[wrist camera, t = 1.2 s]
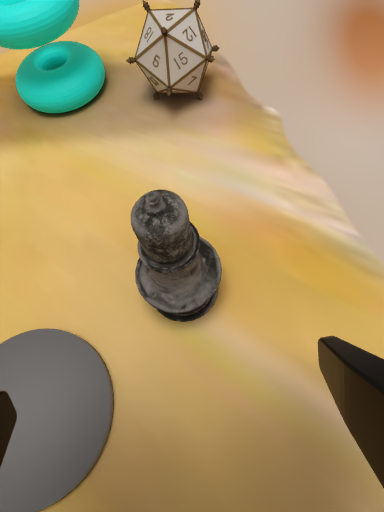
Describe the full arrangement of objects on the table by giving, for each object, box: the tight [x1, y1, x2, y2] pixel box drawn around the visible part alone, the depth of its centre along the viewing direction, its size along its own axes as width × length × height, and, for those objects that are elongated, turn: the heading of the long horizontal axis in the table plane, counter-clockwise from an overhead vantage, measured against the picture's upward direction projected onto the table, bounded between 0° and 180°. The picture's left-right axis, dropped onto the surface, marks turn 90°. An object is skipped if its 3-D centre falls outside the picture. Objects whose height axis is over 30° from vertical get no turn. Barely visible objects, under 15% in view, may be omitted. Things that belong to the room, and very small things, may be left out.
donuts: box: [0, 0, 105, 113], centre depth 32 cm, size 10×10×10 cm
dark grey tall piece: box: [131, 190, 222, 322], centre depth 19 cm, size 6×6×12 cm
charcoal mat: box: [0, 329, 114, 512], centre depth 21 cm, size 11×11×1 cm
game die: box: [126, 0, 219, 100], centre depth 31 cm, size 9×8×10 cm
